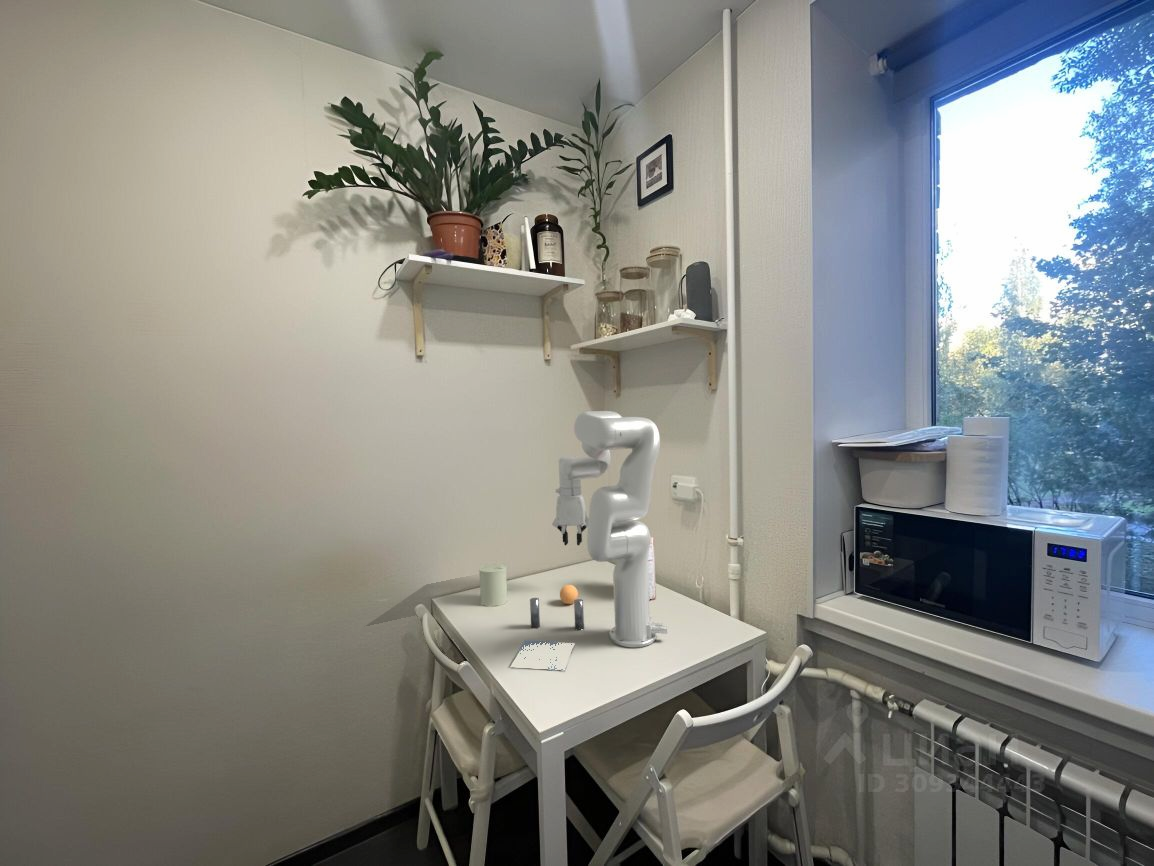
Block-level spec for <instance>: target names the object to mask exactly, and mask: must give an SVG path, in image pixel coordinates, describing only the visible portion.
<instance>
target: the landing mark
mask: <svg viewBox="0 0 1154 866" xmlns="http://www.w3.org/2000/svg"><path fill="white" fill-rule="evenodd" d="M540 642H541V643H540ZM545 642H546V643H545ZM558 642H559V641H552V640H551V641H550V640H548V641H547V640H529V639H525V640H524V641H523V642H522V644H521V646H520V648H519V649H521V650H523V649H524V645H525V647H526V646H528V645H529V647H530V644H531V643H532V644H531V645H534V644H535V643H536V645H537V644H539V643H540V645H542V644H543V643H545V645H546V644H547V643H548V644H549V643H550V646H551V645H553V644H555V646H556V644H557V643H558ZM564 642H565V643H566V642H568V641H564ZM569 642H570V641H569ZM569 642H568V643H569ZM561 644H562V643H561ZM558 645H559V643H558ZM571 645H572V644H571ZM522 647H523V649H522ZM537 647H538V646H537ZM552 648H553V647H552ZM519 649H518V651H521V650H519ZM550 649H551V648H550ZM525 650H526V649H525ZM529 650H530V649H529ZM533 650H534V649H533ZM553 650H555V649H553ZM518 651H517V653H519V652H518ZM523 651H524V650H523ZM527 651H528V650H527ZM531 651H532V650H531ZM520 654H521V653H520ZM514 658H516V657H515V656H514ZM525 658H526V657H525ZM525 658H524V659H525ZM556 658H557V657H556ZM539 660H540V659H539ZM550 660H551V659H550ZM555 661H557V659H556V660H555ZM550 663H551V662H550ZM552 665H553V664H552ZM555 666H556V665H555ZM555 666H554V669H551V670H550V671H552V670H555V669H557V668H555ZM551 668H552V666H551ZM548 669H550V668H549V667H548ZM565 669H566V670H567V667H566V668H565ZM561 670H563V669H561Z"/></svg>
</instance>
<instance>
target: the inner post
mask: <svg viewBox="0 0 1154 866" xmlns="http://www.w3.org/2000/svg"><path fill="white" fill-rule="evenodd" d="M573 608H574V609H573V610H574V611H573V612H574V630H576V629H577V630H576V631H582V630H581V629H583V630H584V629H585V620H584V617H585V616H584V600H583V599H582V598H577V599H576V600H574V603H573Z"/></svg>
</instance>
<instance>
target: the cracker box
mask: <svg viewBox="0 0 1154 866" xmlns="http://www.w3.org/2000/svg"><path fill="white" fill-rule="evenodd" d="M655 563H656V561H655V541H654V537H653V536H651V544H650V550H649V558H648V584H649V601H651V600H650V599H652V600H655V599H654V598H656V599H657V593H656V591H657V589H656V588H657V587H656V586H657V585H656V569H655V568H656V566H655Z"/></svg>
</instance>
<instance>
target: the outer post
mask: <svg viewBox="0 0 1154 866" xmlns="http://www.w3.org/2000/svg"><path fill="white" fill-rule="evenodd" d="M529 609H530V613H529V614H530V628H531V629H533V628H536V629H539V628H540V627H541V621H540V620H541V618H540V615H541V614H540V599H539V597H531V598H529Z"/></svg>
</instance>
